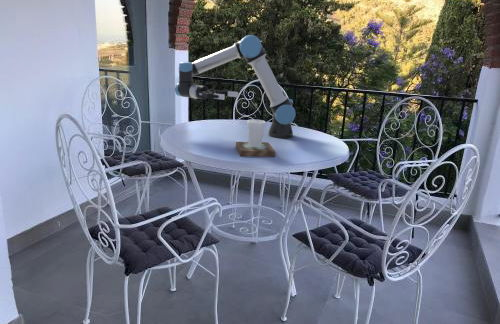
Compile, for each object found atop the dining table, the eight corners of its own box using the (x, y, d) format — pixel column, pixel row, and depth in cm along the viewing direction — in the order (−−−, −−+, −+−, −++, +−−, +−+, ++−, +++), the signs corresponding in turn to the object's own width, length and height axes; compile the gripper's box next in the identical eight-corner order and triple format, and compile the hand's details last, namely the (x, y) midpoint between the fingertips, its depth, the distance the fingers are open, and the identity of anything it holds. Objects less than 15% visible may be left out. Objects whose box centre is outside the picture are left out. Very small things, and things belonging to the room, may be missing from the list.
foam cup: (261, 148, 210) (263, 123, 206) (244, 146, 211) (245, 122, 208) (265, 144, 219) (266, 120, 215) (248, 142, 220) (249, 118, 216)
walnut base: (268, 147, 226) (268, 141, 225) (274, 156, 209) (275, 150, 208) (235, 147, 223) (235, 141, 222) (239, 156, 206) (240, 150, 205)
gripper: (212, 96, 242) (243, 100, 232) (185, 101, 221) (217, 105, 211) (212, 83, 239) (243, 87, 229) (185, 87, 219) (218, 90, 209)
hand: (231, 95), depth 220 cm, fingers open, 13 cm apart
